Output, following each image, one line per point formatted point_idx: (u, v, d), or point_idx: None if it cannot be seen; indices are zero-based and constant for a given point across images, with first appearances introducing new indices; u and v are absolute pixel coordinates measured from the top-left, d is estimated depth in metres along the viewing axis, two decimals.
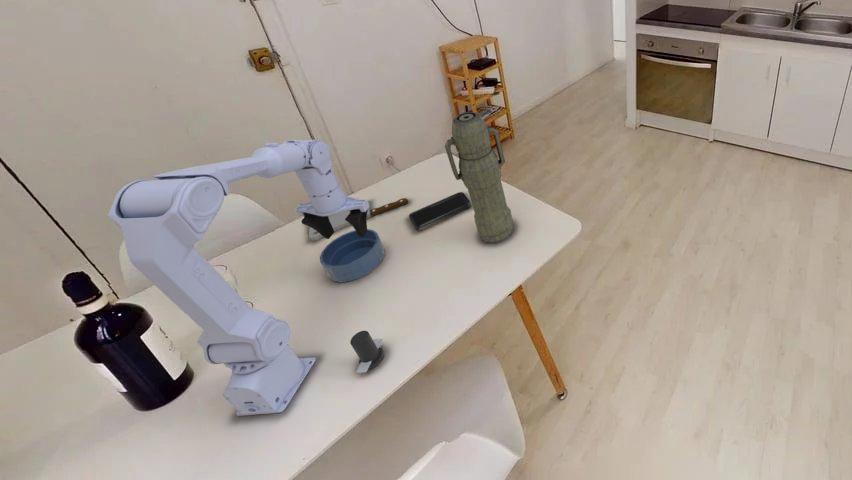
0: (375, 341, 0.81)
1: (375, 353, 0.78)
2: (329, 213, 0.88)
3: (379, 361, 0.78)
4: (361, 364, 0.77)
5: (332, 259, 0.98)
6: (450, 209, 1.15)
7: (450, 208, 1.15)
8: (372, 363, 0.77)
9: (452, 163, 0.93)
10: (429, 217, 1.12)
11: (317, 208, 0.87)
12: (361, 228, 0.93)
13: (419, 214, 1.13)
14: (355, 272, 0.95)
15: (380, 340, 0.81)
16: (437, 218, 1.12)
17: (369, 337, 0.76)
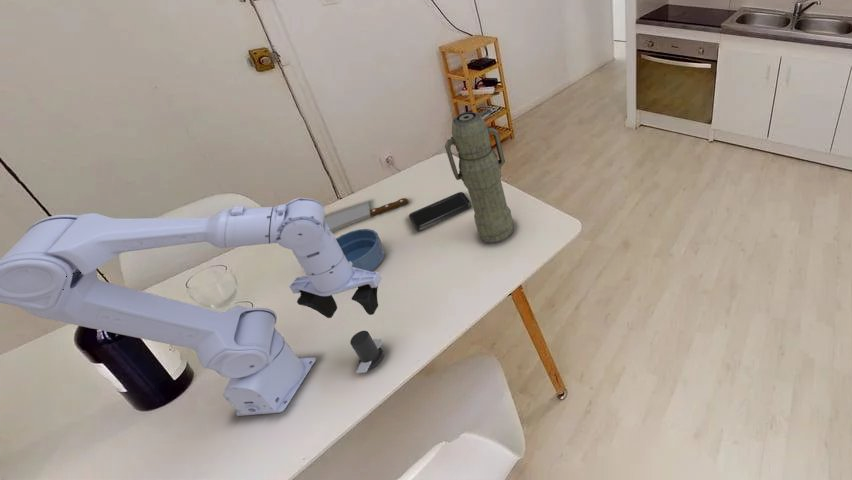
0: (375, 341, 0.81)
1: (375, 353, 0.78)
2: (332, 292, 0.71)
3: (379, 361, 0.78)
4: (361, 364, 0.77)
5: None
6: (450, 209, 1.15)
7: (450, 208, 1.15)
8: (372, 363, 0.77)
9: (452, 163, 0.93)
10: (429, 217, 1.12)
11: (317, 287, 0.70)
12: (371, 305, 0.76)
13: (419, 214, 1.13)
14: None
15: (380, 340, 0.81)
16: (437, 218, 1.12)
17: (369, 337, 0.76)
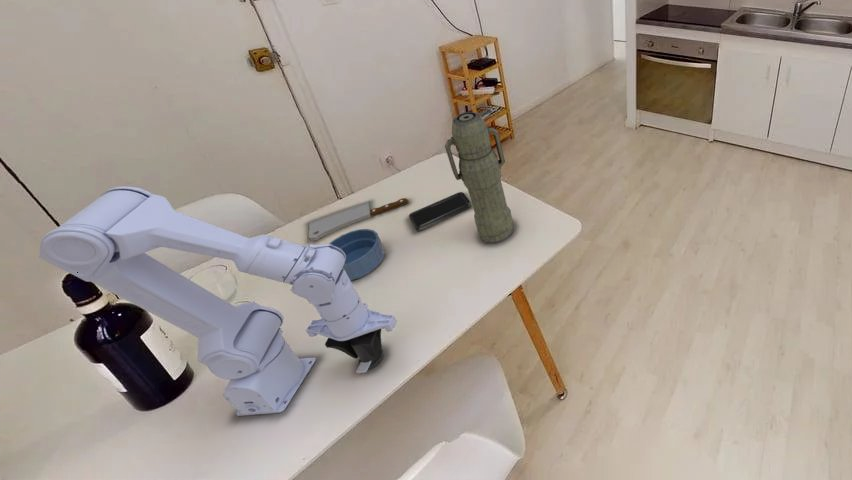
0: None
1: None
2: (348, 337, 0.71)
3: (379, 361, 0.78)
4: (361, 364, 0.77)
5: None
6: (450, 209, 1.15)
7: (450, 208, 1.15)
8: (372, 363, 0.77)
9: (452, 163, 0.93)
10: (429, 217, 1.12)
11: (333, 332, 0.70)
12: (374, 347, 0.76)
13: (419, 214, 1.13)
14: (355, 272, 0.95)
15: None
16: (437, 218, 1.12)
17: None
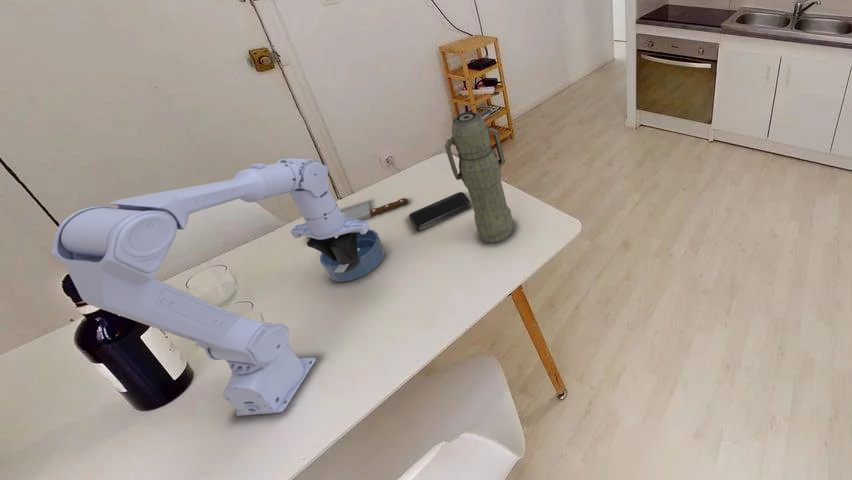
0: None
1: None
2: (326, 236, 0.82)
3: (355, 265, 0.89)
4: (339, 266, 0.88)
5: None
6: (450, 209, 1.15)
7: (450, 208, 1.15)
8: (349, 266, 0.88)
9: (452, 163, 0.93)
10: (429, 217, 1.12)
11: (313, 231, 0.81)
12: (351, 251, 0.87)
13: (419, 214, 1.13)
14: (355, 272, 0.95)
15: (357, 249, 0.92)
16: (437, 218, 1.12)
17: None
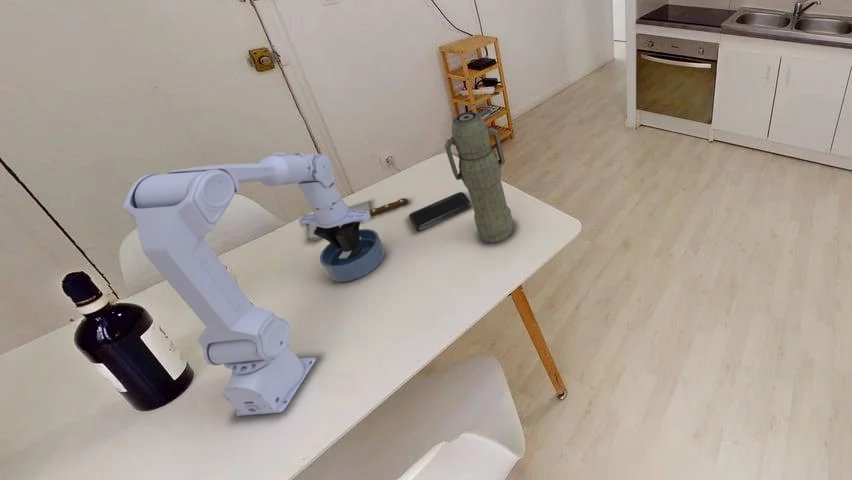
0: None
1: None
2: (331, 225, 0.90)
3: (358, 252, 0.98)
4: (343, 253, 0.96)
5: (332, 259, 0.98)
6: (450, 209, 1.15)
7: (450, 208, 1.15)
8: (352, 253, 0.97)
9: (452, 163, 0.93)
10: (429, 217, 1.12)
11: (320, 220, 0.90)
12: (354, 239, 0.96)
13: (419, 214, 1.13)
14: (355, 272, 0.95)
15: None
16: (437, 218, 1.12)
17: None
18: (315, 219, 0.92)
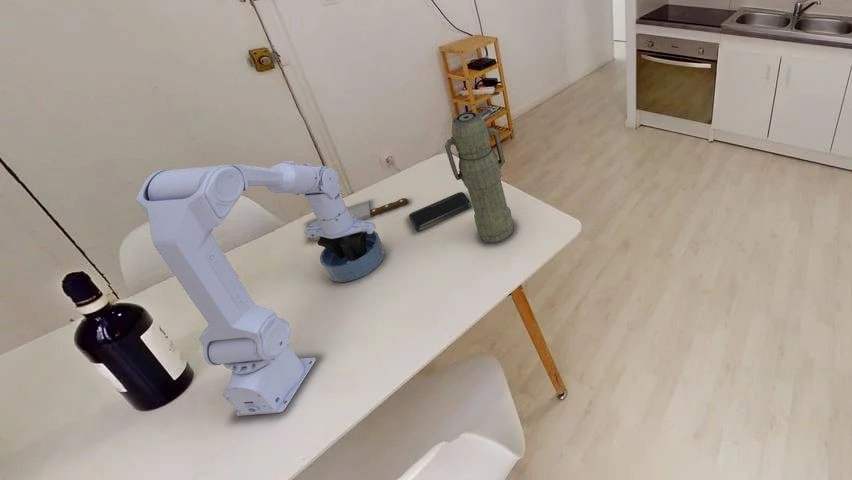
0: None
1: None
2: (337, 235, 0.92)
3: None
4: (348, 262, 0.97)
5: (332, 259, 0.98)
6: (450, 209, 1.15)
7: (450, 208, 1.15)
8: None
9: (452, 163, 0.93)
10: (429, 217, 1.12)
11: (326, 231, 0.91)
12: (361, 249, 0.97)
13: (419, 214, 1.13)
14: (355, 272, 0.95)
15: None
16: (437, 218, 1.12)
17: None
18: (321, 229, 0.94)
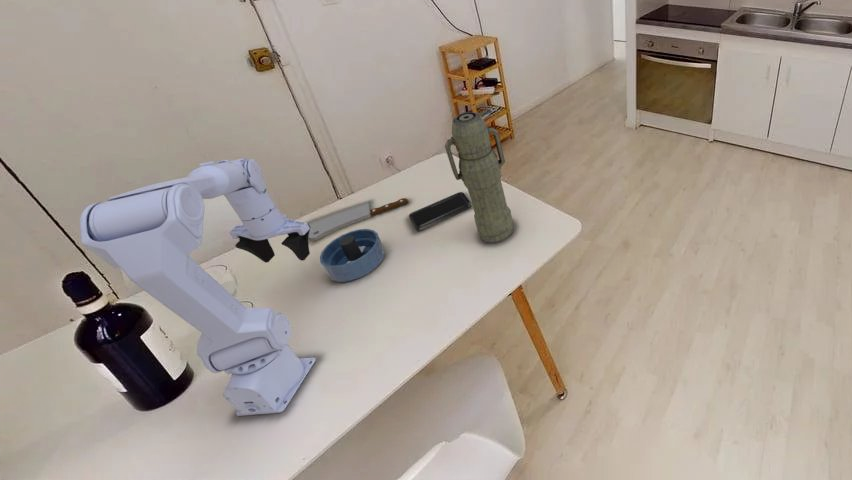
0: (359, 248, 1.01)
1: (359, 255, 0.99)
2: (264, 237, 0.83)
3: None
4: (348, 262, 0.97)
5: (332, 259, 0.98)
6: (450, 209, 1.15)
7: (450, 208, 1.15)
8: None
9: (452, 163, 0.93)
10: (429, 217, 1.12)
11: (250, 232, 0.82)
12: (302, 251, 0.88)
13: (419, 214, 1.13)
14: (355, 272, 0.95)
15: (363, 247, 1.02)
16: (437, 218, 1.12)
17: (354, 240, 0.97)
18: (248, 230, 0.85)
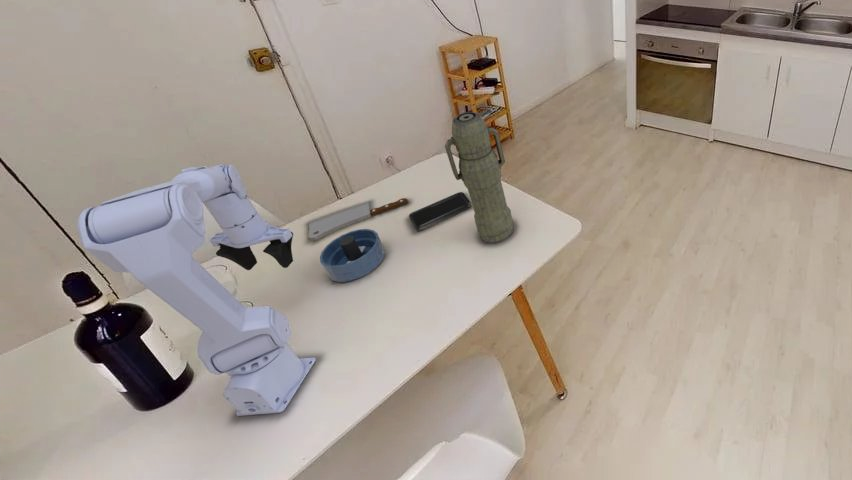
0: (359, 248, 1.01)
1: (359, 255, 0.99)
2: (245, 245, 0.81)
3: None
4: (348, 262, 0.97)
5: (332, 259, 0.98)
6: (450, 209, 1.15)
7: (450, 208, 1.15)
8: None
9: (452, 163, 0.93)
10: (429, 217, 1.12)
11: (231, 239, 0.81)
12: (284, 259, 0.87)
13: (419, 214, 1.13)
14: (355, 272, 0.95)
15: (363, 247, 1.02)
16: (437, 218, 1.12)
17: (354, 240, 0.97)
18: (228, 238, 0.83)
